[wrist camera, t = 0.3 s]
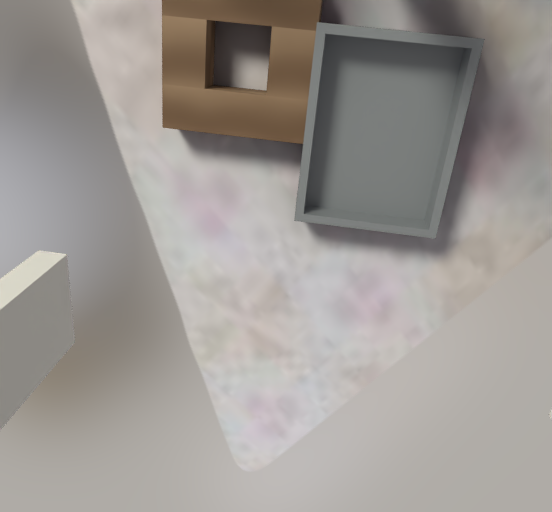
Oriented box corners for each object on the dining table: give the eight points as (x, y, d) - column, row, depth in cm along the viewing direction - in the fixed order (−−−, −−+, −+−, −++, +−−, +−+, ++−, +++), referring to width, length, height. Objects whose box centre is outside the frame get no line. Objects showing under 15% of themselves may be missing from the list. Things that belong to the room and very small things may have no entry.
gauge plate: (174, -33, 33) (162, -37, 31) (325, -19, 32) (323, -22, 30) (173, 121, 37) (162, 127, 35) (306, 136, 37) (304, 144, 34)
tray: (318, 22, 33) (317, 22, 31) (474, 38, 33) (484, 38, 30) (297, 209, 39) (294, 220, 37) (429, 225, 38) (435, 238, 36)
